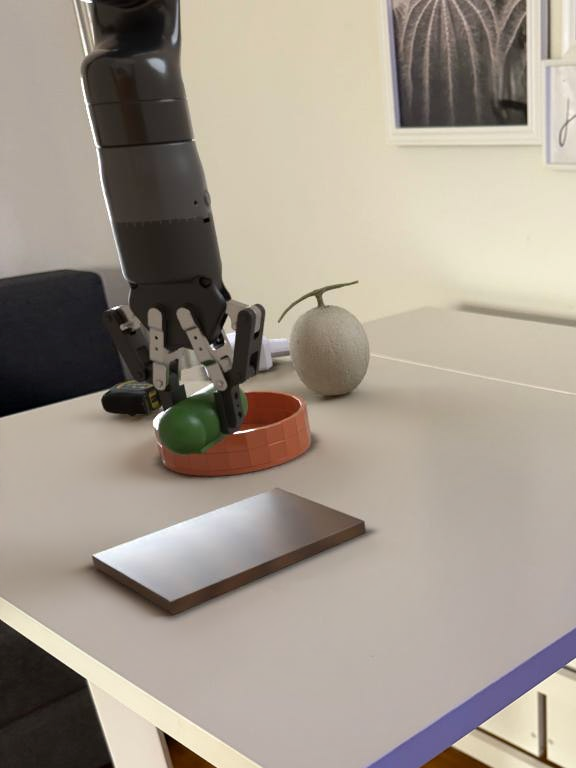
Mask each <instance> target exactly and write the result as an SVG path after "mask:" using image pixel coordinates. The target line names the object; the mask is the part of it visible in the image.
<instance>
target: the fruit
mask: <svg viewBox="0 0 576 768" xmlns="http://www.w3.org/2000/svg"><path fill="white" fill-rule="evenodd" d="M355 284H359V280H358V279H357V280H353V281H351V282H344V283H337V284H331V285H326V286H323V287H321V288H316V289H314V290H312V291H310V292H308V293H306V294H304V295H302V296H301V297H300V298H298V299H296V300H295V301H293V302H292V303H291V304H290V305H289V306H288V307H287V308H285V309H284V311H283V312H282V313H281V315H280V316H279V318H278V320H277V323H278V324H280V323H281V321H282V320H283V318H284V317H285V316H286V314H287V313H288V312H289V311H290V310H292V309H293V307H295V306H296V305H298V304H299V303H301V302H303V301H304V300H306V299H308V298H310V297H315V299H316V303H317V306H315V307H312V308H311V309H309V310H307V311H305V312H303V313H302V314H301V315H300V316H299V317H298V318H297V319H296V321H295V322H294V323H293V326H292V328H291V330H290V331H291V332H290V334H289V341H288V342H289V348H290V356H289V357H290V360H291V363H292V366H293V369H294V372H295V373H296V374H297V376H298V378H299V380H300V382H301V383H302V384H303V385H304V386H305V387H306V388H307V389H308V390H310V391H311V392H313V393H314V394H317V395H320V396H329V397H330V396H341V395H342V396H343V395H345V394H346V395H347V394H349V393H350V392H352V391H354V390H355V389H356V388H358V387H359V386H360V384H361V383H362V382H363V381H364V378H365V376H366V375H367V372H368V368H369V364H370V356H371V354H370V353H371V351H370V343H369V339H368V335H367V332H366V330H365V328H364V326H363V325H362V323H361V322H360V320H359V319H358V318H357V317H356V315H354V314H353V313H352V312H350V311H349V310H348V309H346V308H344V307H341V306H338V305H332V304H325V303H324V299H323V294H324V293H327V292H328V291H333V290H336V289H341V288H343V287H347V286H352V285H355Z"/></svg>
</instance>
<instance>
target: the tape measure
mask: <svg viewBox="0 0 576 768" xmlns="http://www.w3.org/2000/svg"><path fill="white" fill-rule="evenodd" d="M100 402H101V406H102V409H103V410H104V411H105V412H106V413H108V414H113V415H124V416H125V415H127V416H128V417H131V418H132V417H136V416H138V415H139V416H142V415H143V416H148V415H150V414H151V413H152V412H154V411H157V410H159V409H161V408H162V403H161V399H160V395H159V391H158V389H156V388H155V386H154V385H152V384H150V383H147V382H145V381H143V382H137V381H136V380H135V379H132V380H126V381H123V382H119V383H117V384H115V385H113V386H112V387H111V388H110V389H109V390H107V391H106V392H105V393H104V394H103V395H102V396H101V399H100Z"/></svg>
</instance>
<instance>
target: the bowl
mask: <svg viewBox="0 0 576 768" xmlns="http://www.w3.org/2000/svg"><path fill="white" fill-rule="evenodd" d="M242 391H243V392H244V394H245V396H246V398H247V403H248V410H247V413H246V416H245V418H244V423H242V424H241V427H240V429H239V430H238V431H237V432H235V433H234V434H232V435H228V436H227V437H225V438H224V439H223V440H221V441H220V442H218V443H217V444H215V445H214V446H212V447H211V448H209V449H208V450H207V451H205V452H204V453H202V454H191V455H179V454H176V453H173V452H172V451H170V450H169V449H167V448H166V447H165V446H164V445H163V443H162V442H161V440H160V438H159V435H158V422H159V419H160V417H161V415H162V414H163V413H164V412H163V411H161V412H160V413H158V414H157V415H156V417H154V419H153V421H152V423H153V424H152V426H153V430H154V434H155V439H156V442H157V447H158V452H159V455H160V459H161V461H162V464H163V465H164V466H165V467H166V468H167V469H168V470H170V471H172V472H175V473H179V474H183V475H188V476H197V477H198V476H199V477H200V476H201V477H219V476H220V477H223V476H233V475H241V474H247V473H253V472H257V471H261V470H267V469H269V468H274V467H276V466H279V465H282V464H285V463H287V462H288V463H289V462H290V461H292V460H294V459H296V458H298V457H300V456H302V455H303V454H304V453H305V452H306V451H308V450H309V448H310V446H311V444H312V434H311V433H312V432H311V428H310V427H311V426H310V421H309V415H308V408H307V404H306V401H305V399H304V398H303V397H300V396H299V395H297V394H293V393H288V392H285V391H275V390H242Z"/></svg>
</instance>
